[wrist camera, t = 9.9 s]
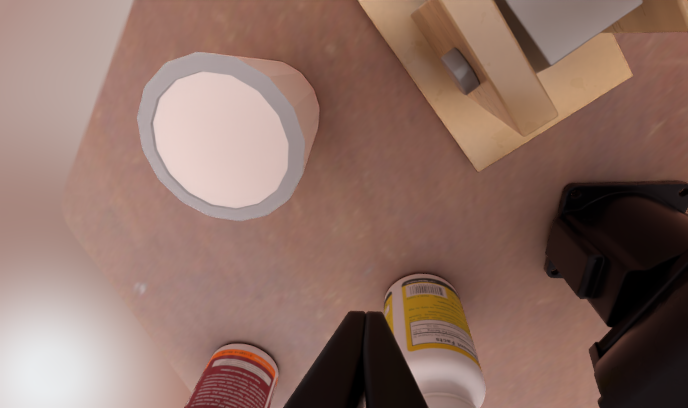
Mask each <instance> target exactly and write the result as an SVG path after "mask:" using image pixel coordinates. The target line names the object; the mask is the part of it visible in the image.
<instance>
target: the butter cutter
mask: <svg viewBox="0 0 688 408" xmlns="http://www.w3.org/2000/svg"><path fill="white" fill-rule="evenodd" d="M357 1H358V2H359V4H360V5H361V7H362V8H363V9H364V11H365V12H366V14H367V15H368V17H369V18H370V19H371V21H372V22H373V24H374V25H375V26H376V28H377V29H378V31H379V32H380V34H381V35H382V36H383V38H384V39H385V41H386V42H387V44H388V45H389V46H390V48H391V49H392V51H393V52H394V54H395V55H396V56H397V58H398V59H399V61H400V62H401V64H402V65H403V66H404V68H405V69H406V71H407V72H408V74H409V75H410V76H411V78H412V79H413V81H414V82H415V84H416V85H417V86H418V88H419V89H420V91H421V92H422V94H423V95H424V96H425V98H426V99H427V101H428V102H429V104H430V105H431V106H432V108H433V109H434V111H435V112H436V114H437V115H438V116H439V118H440V119H441V121H442V122H443V123H444V125H445V126H446V128H447V129H448V131H449V132H450V133H451V135H452V136H453V138H454V139H455V141H456V142H457V143H458V145H459V146H460V148H461V149H462V151H463V152H464V153H465V155H466V156H467V158H468V159H469V161H470V162H471V163H472V165H473V166H474V168H475V169H476V171H477V172H480V171H482V170H483V169H485V168H486V167H488V166H490V165H491V164H493V163H494V162H496V161H498V160H499V159H501V158H502V157H504V156H506V155H507V154H509V153H510V152H512V151H514V150H515V149H517V148H518V147H520V146H522V145H523V144H525V143H526V142H528V141H530V140H531V139H533V138H534V137H536V136H538V135H539V134H541V133H542V132H544V131H546V130H547V129H549V128H550V127H552V126H554V125H555V124H557V123H558V122H560V121H562V120H563V119H565V118H566V117H568V116H570V115H571V114H573V113H574V112H576V111H578V110H579V109H581V108H582V107H584V106H586V105H587V104H589V103H590V102H592V101H594V100H595V99H597V98H598V97H600V96H602V95H603V94H605V93H606V92H608V91H610V90H611V89H613V88H614V87H616V86H618V85H619V84H621V83H622V82H624V81H626V80H627V79H629V78H630V77H632V76H633V75H632V73H631V70H630V68H629V66H628V64H627V62H626V60H625V58H624V56H623V54H622V51H621V49H620V47H619V45H618V43H617V41H616V39H615V37H614V34H613V33H650V32H688V0H642V1H643V3H642V4H641V5H640V6H638V7H637V8H635V9H634V10H632V11H631V12H630V13H628V14H627V15H625V16H624V17H622V18H621V19H619V20H618V21H617V22H615V23H614V24H612V25H611V26H609V27H608V28H606V29H605V30H603V31H602V32H601V33H599V34H598V35H596V36H595V37H593V38H592V39H590V40H589V41H588V42H586V43H585V44H583V45H582V46H580V47H579V48H577V49H576V50H575V51H573V52H572V53H570V54H569V55H567V56H566V57H564V58H563V59H562V60H560V61H559V62H557V63H556V64H554V65H553V66H551V67H549V68H547V69H545V70H543V71H541V72H539V73H537V74H536V73H535V71H534V70H533V68H532V66H531V64H530V62H529V61H528V59H527V57H526V55H525V54H524V52H523V50H522V48H521V47H520V45H519V43H518V41H517V40H516V38H515V36H514V34H513V33H512V31H511V29H510V27H509V26H508V24H507V22H506V20H505V19H504V17H503V15H502V13H501V12H500V10H499V8H498V6H497V5H496V3H495V1H494V0H357Z"/></svg>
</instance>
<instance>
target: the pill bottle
mask: <svg viewBox="0 0 688 408" xmlns="http://www.w3.org/2000/svg"><path fill="white" fill-rule="evenodd" d="M277 381H278V369H277V366H276V364H275V362H274V361H273V360H272V358H271V357H270V356H269V355H268V354H266V353H265V352H263V351H262V350H260V349H258V348H256V347H254V346H251V345H247V344H229V345H226V346H223V347H221V348H219V349H218V350H217V351H216V352H215V353H214V354H213V355H212V357H211V359H210V361H209V362H208V364H207V366H206V368H205V370H204V372H203V374H202V376H201V378H200V379H199V381H198V383H197V385H196V387H195V389H194V391H193V392H192V394H191V396H190V398H189V400H188V402H187V404H186V406H185V407H184V408H270V404H271V401H272V398H273V395H274V391H275V388H276V385H277Z"/></svg>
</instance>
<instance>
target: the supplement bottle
mask: <svg viewBox="0 0 688 408" xmlns="http://www.w3.org/2000/svg"><path fill="white" fill-rule="evenodd" d="M384 316H385V318H386V320H387V322H388V324H389V326H390V329H391V331H392V333H393V335H394V337H395V339H396V341H397V343H398V345H399V347H400V349H401V351H402V353H403V355H404V358H405V360H406V362H407V364H408V366H409V368H410V370H411V372H412V374H413V376H414V378H415V380H416V382H417V384H418V387H419V389H420V391H421V393H422V395H423V397H424V399H425V401H426V403H427V405H428V407H429V408H480V407H481V405H482V403H483V401H484V398H485V392H486V390H485V382H484V377H483V373H482V370H481V367H480V364H479V360H478V357H477V354H476V350H475V347H474V344H473V340H472V337H471V334H470V330H469V327H468V324H467V321H466V317H465V314H464V311H463V308H462V305H461V302H460V299H459V296H458V294H457V292H456V290H455V289H454V287H453V286H452V285H451V284H450V283H448V282H447V281H446V280H444V279H442V278H440V277H438V276H434V275H430V274H414V275H410V276H406V277H404V278H402V279H400V280H398V281H397V282H395V283H394V284H393V285H392V286H391V287H390V288H389V290H388V292H387V293H386V296H385V300H384Z"/></svg>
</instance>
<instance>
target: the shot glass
mask: <svg viewBox="0 0 688 408" xmlns="http://www.w3.org/2000/svg"><path fill="white" fill-rule="evenodd" d="M319 113H320V108H319V104H318V101H317V98H316V94H315V91H314V89H313V87H312V86H311V85H310V84H309V82H308V81H307V80H306V78H305V77H304V76H303V75H302V73H301V72H299V71H298V70H296V69H294V68H293V67H291V66H289V65H287V64H286V63H284V62H280V61H273V60H266V59H257V58H248V57H240V56H231V55H222V54H213V53H204V52H195V53H192V54H190V55H187V56H184V57H181V58H178V59H175V60H172V61H169V62H166V63H165V64H164V65H163V66H162V67H161V69H160V70H159V71H158V72H157V73H156V74H155V75H154V76H153V78H152V79H151V80H150V81H149V82H148V83H147V84H146V85H145V87H144V91H143V95H142V99H141V103H140V107H139V111H138V115H137V120H138V126H139V132H140V138H141V144H142V150H143V152H144V154H145V156H146V157H147V159H148V161H149V163H150V165H151V167H152V168H153V170H154V172H155V174H156V176H157V177H158V179H159V180H160V181H161V182H162V183H163V184H164V185H165V186H166V187H167V188H168V189H169V190H170V191H171V192H172V193H173V194H174V195H175V196H176V197H177V198H178V199H179V200H180V201H181V202H183V203H185V204H187V205H189V206H190V207H192V208H194V209H196V210H198V211H200V212H202V213H204V214H206V215H208V216H210V217H216V218H222V219H228V220H235V221H243V220H248V219H253V218H258V217H262V216H267V215H268V214H270V213H271V212H273V211H274V210H275V209H277V208H278V207H280V206H281V205H282V204H284V203H285V202H286V201H288V200H289V199H290V197H291V195H292V194H293V192H294V190H295V188H296V186H297V184H298V182H299V181H300V179H301V177H302V175H303V173H304V170H305V167H306V164H307V160H308V157H309V154H310V151H311V148H312V145H313V142H314V139H315V136H316V133H317V130H318V125H319Z"/></svg>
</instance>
